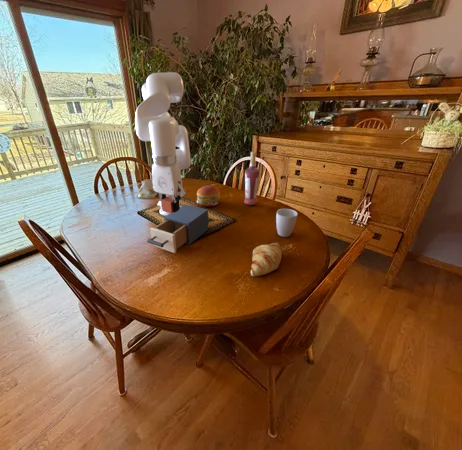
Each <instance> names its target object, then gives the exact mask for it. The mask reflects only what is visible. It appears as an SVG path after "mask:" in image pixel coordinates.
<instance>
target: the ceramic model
mask: <svg viewBox="0 0 462 450" xmlns="http://www.w3.org/2000/svg"><path fill="white" fill-rule="evenodd" d="M138 192H139V194H138V195H137V198H139V199H152V198H155V197H156V196H158V194H157V193H156V192H155V191H154V190H153V180H152V179H151V178H149V179H148V178H146V179H145V180H144V182H143V183H142V185H141V186H140V188H139V189H138Z"/></svg>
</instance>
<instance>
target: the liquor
mask: <svg viewBox="0 0 462 450" xmlns="http://www.w3.org/2000/svg"><path fill="white" fill-rule="evenodd" d="M256 157H257V151H250V160H249V161H250V162H249V167H247V168H245V170H244V201H243V203H244V204H245V205H247V206H249V207H252V206H255V205H256V204H257V203H258V201H257V196H258V187H259V186H258V185H259V180H260V169H259V168H258V167H256Z"/></svg>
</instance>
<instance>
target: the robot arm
mask: <svg viewBox="0 0 462 450" xmlns="http://www.w3.org/2000/svg"><path fill="white" fill-rule="evenodd" d="M145 81H146V82H144V83H143V84H142V86H141V95H142V98H143V101H142V102H141V103H140V104H139V105H138V106H137V107H136V110H135V113H134V114H135V117H134V122H135V133H136V136H137V138H138V139H139V140H140V141H142V142H151V143H150V144H151V152H152V156H151V159H153V163H152V166H151V178H152V179H151V180H152V181H153V190H154V191H155V192H156V193H157V196H158V199H159V200H158V203H157V204H156V206H157V207H160V209H159V214H160V215H161V216H163V217H165V216H166V215H168V214H170V213H168V212H164V211H163V210H162V203H161V200H162V199H164V198H166V197H168V196H172V199H173V202H172V206H173V212H174V213H175V212H177V211H178V210H179V209H180V207H181V206H182V205H181V203H180V202H181V199H182V198H183V197H184V196H186V195H187V192H186V191H185V189H184V188H183V180H182V173H181V170H187V169H189V168H190V167H191V163H192V162H191V161H192V159H191V151H190V141H189V134H188V133H189V132H188V130H187V127H185V126H184V125H181V124H179V122H178V121H177V120H176V118H175V117H173V116H171V115H170V113H169V110H170V107H171V104H177V103H180V102H181V101H182V99H183V96H184V91H185V90H184V81H183V78H182V76H181V74H179V73H178V72H175V71H169V72H152V73H150V74H149V75H148V76H147V78H146V80H145ZM176 147H178V148H177V149H176Z"/></svg>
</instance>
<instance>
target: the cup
mask: <svg viewBox="0 0 462 450" xmlns="http://www.w3.org/2000/svg"><path fill="white" fill-rule="evenodd" d="M275 216H276V217H275V218H276V219H275V222H276V232H277V234H278V236H280V237H283V238H288V237H290V236H291V234H292V233H293V231H294V229H295V225H296V223H297V220H298V219H297V218H298V212H297V211H296V210H294V209H291V208H280V209H277V211H276V215H275Z"/></svg>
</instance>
